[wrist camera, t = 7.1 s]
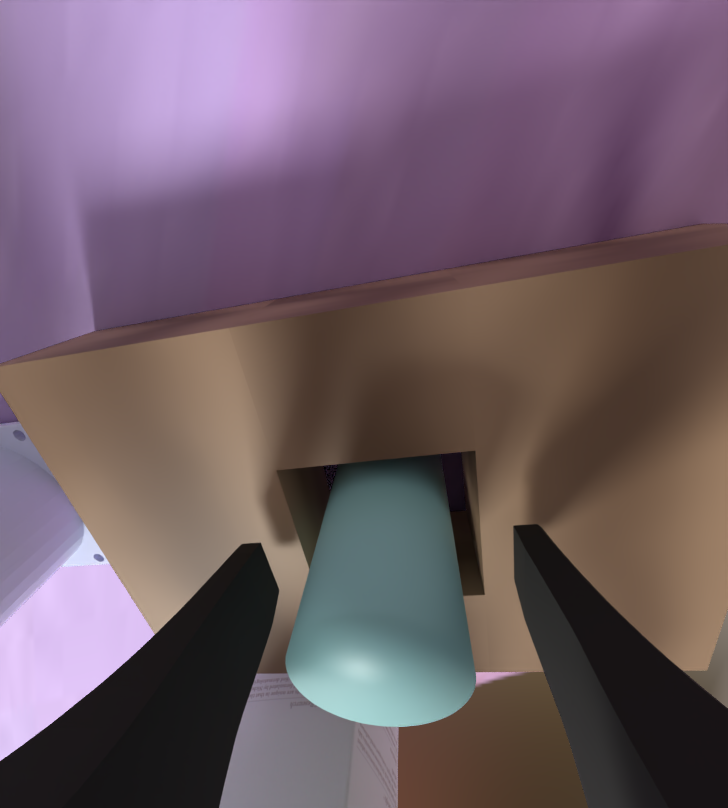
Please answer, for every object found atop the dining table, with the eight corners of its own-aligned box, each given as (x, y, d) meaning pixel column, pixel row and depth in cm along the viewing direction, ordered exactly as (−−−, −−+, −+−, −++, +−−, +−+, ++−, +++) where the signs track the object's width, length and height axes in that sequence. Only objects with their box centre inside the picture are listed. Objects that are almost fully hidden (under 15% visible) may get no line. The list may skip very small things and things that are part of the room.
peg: (353, 504, 16) (314, 726, 9) (330, 424, 15) (260, 618, 7) (446, 494, 15) (484, 727, 8) (433, 409, 14) (465, 607, 7)
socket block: (221, 591, 19) (180, 674, 16) (94, 331, 14) (-15, 368, 10) (639, 572, 16) (707, 670, 13) (702, 224, 11) (857, 222, 7)
